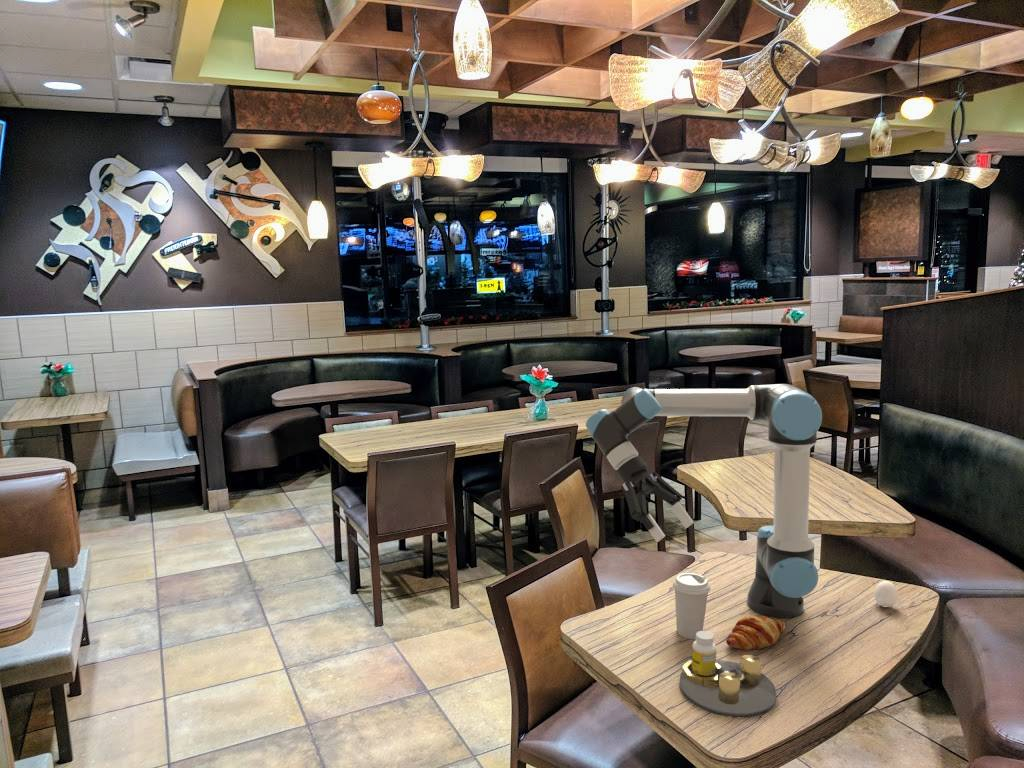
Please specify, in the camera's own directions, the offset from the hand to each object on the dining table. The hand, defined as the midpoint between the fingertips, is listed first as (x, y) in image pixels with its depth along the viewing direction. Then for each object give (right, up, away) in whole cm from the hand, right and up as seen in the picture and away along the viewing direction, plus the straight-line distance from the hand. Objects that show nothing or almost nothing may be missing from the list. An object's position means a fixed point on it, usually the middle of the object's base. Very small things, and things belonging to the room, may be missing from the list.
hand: (676, 532), depth 186 cm
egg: (+65, -27, +26) cm, 75 cm away
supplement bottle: (+4, -31, -13) cm, 33 cm away
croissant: (+22, -30, +6) cm, 38 cm away
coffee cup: (+6, -29, +10) cm, 31 cm away
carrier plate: (+8, -33, -17) cm, 37 cm away
